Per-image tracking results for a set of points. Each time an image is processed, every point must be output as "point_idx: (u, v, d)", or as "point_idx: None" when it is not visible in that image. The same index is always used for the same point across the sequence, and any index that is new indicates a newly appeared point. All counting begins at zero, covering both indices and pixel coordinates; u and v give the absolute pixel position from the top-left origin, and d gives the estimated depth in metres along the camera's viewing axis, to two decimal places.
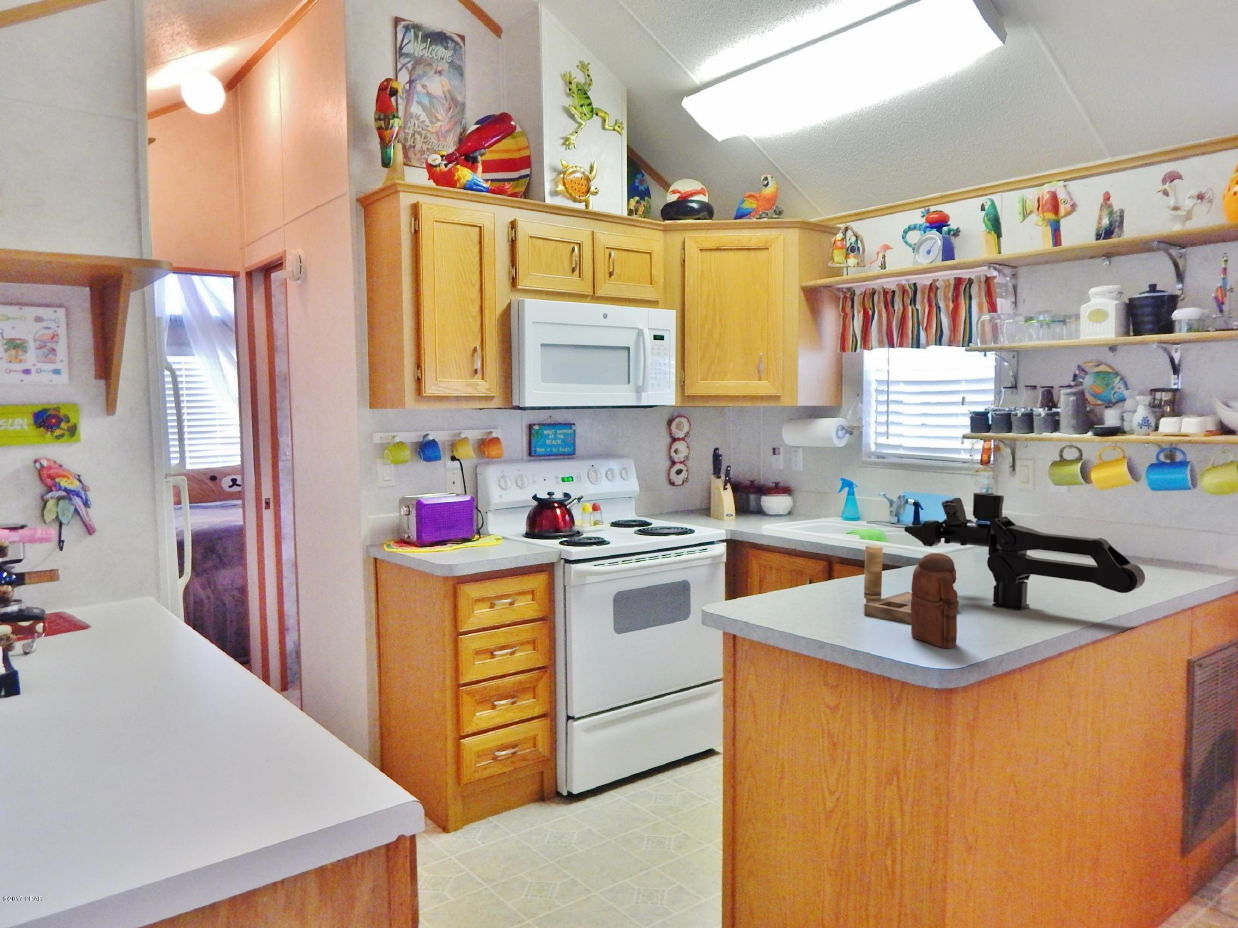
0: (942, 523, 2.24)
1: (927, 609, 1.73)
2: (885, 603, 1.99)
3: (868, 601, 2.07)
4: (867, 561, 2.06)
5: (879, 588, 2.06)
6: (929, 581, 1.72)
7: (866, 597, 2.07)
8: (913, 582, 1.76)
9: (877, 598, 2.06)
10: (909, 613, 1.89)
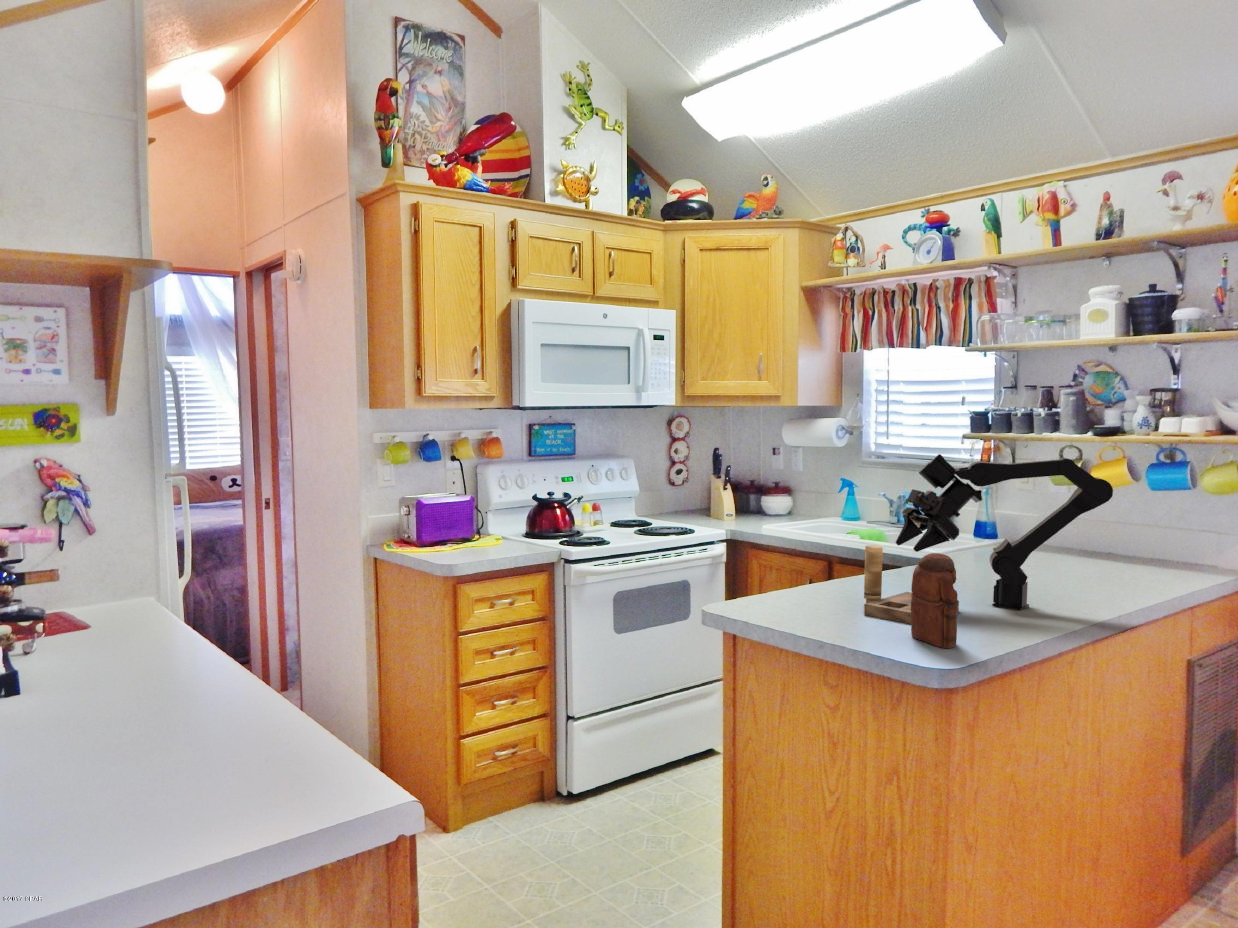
0: (908, 525, 2.14)
1: (927, 609, 1.73)
2: (885, 603, 1.99)
3: (868, 601, 2.07)
4: (867, 561, 2.06)
5: (879, 588, 2.06)
6: (929, 581, 1.72)
7: (866, 597, 2.07)
8: (913, 582, 1.76)
9: (877, 598, 2.06)
10: (909, 613, 1.89)
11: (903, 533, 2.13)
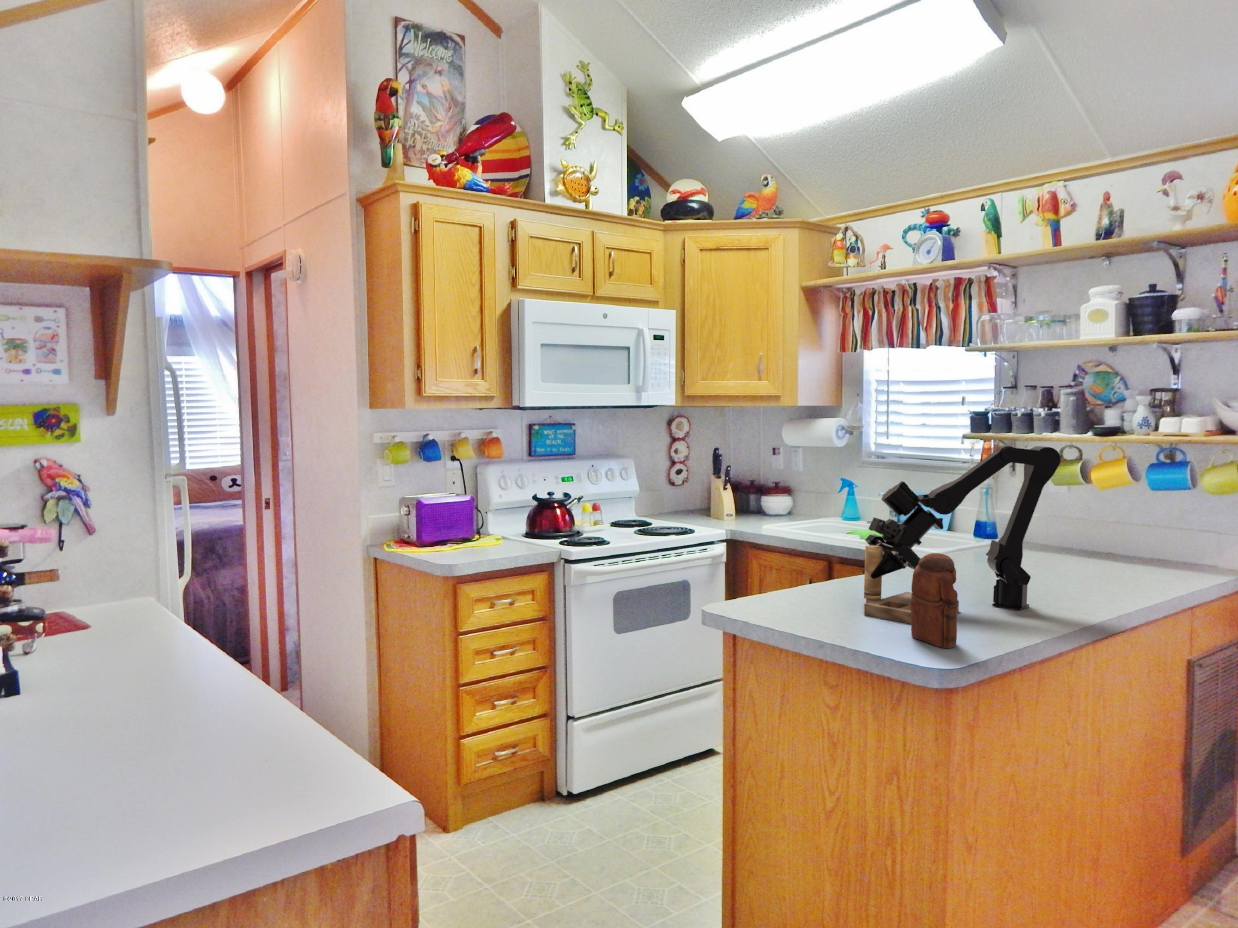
0: None
1: (927, 609, 1.73)
2: (885, 603, 1.99)
3: (868, 601, 2.07)
4: (867, 561, 2.06)
5: (879, 588, 2.06)
6: (930, 581, 1.72)
7: (866, 597, 2.07)
8: (913, 582, 1.76)
9: (877, 598, 2.06)
10: (909, 613, 1.89)
11: None
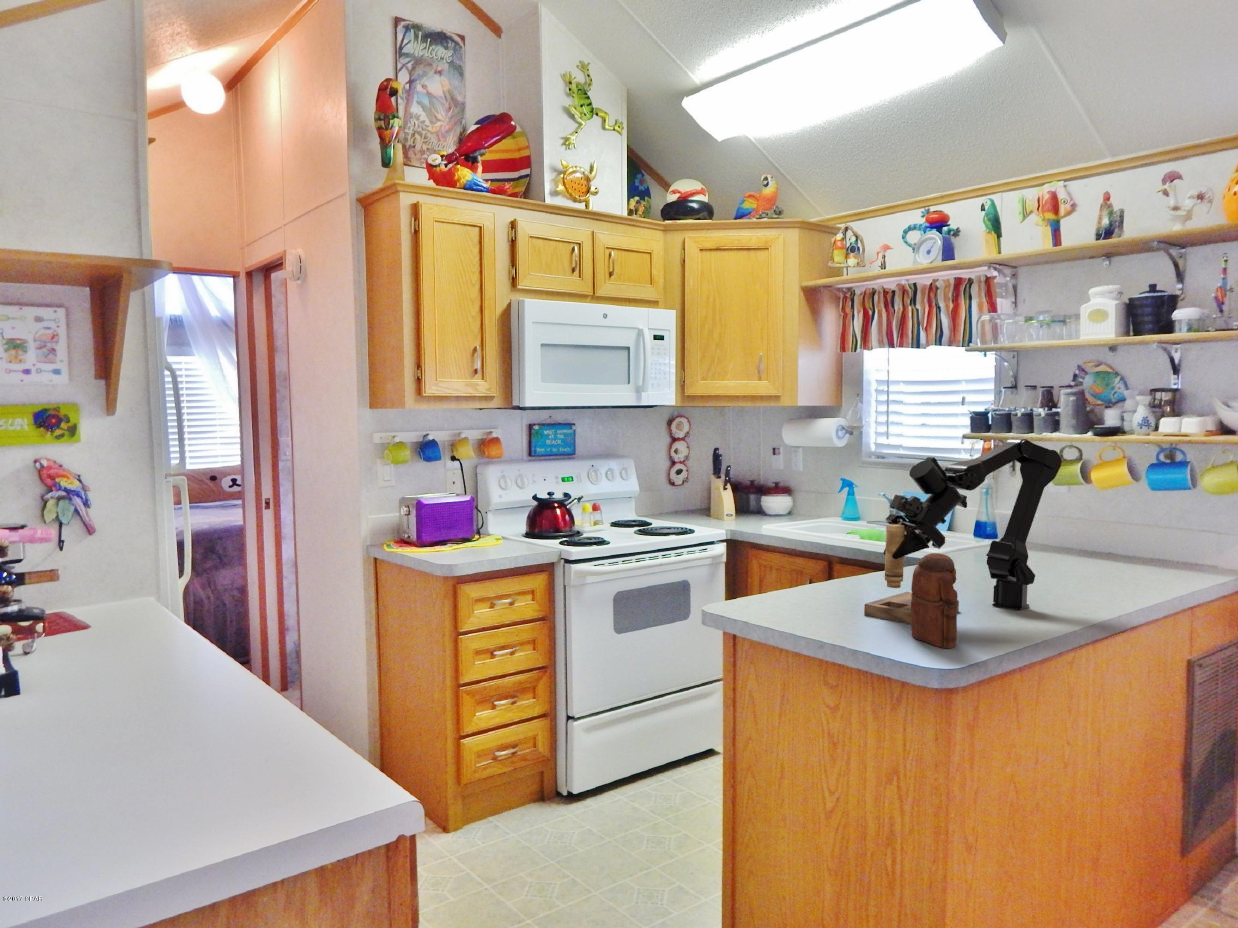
0: None
1: (927, 609, 1.73)
2: (885, 603, 1.99)
3: (889, 583, 1.96)
4: (888, 541, 1.95)
5: (901, 569, 1.95)
6: (929, 581, 1.72)
7: (887, 579, 1.96)
8: (913, 582, 1.76)
9: (899, 580, 1.95)
10: (909, 613, 1.89)
11: None
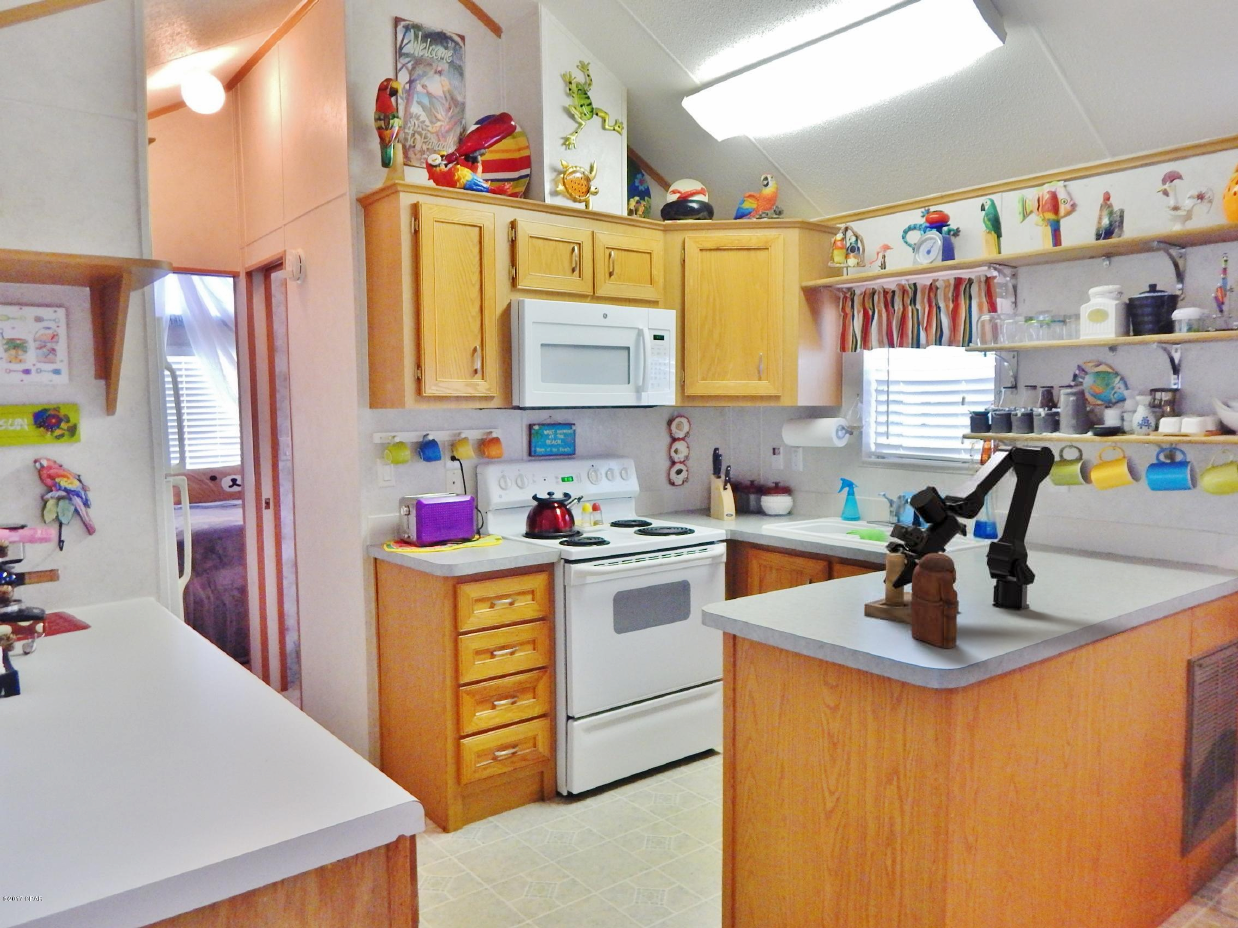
0: None
1: (927, 608, 1.73)
2: None
3: None
4: (888, 570, 1.95)
5: (902, 598, 1.95)
6: (930, 581, 1.72)
7: None
8: (913, 582, 1.76)
9: None
10: (909, 613, 1.89)
11: None
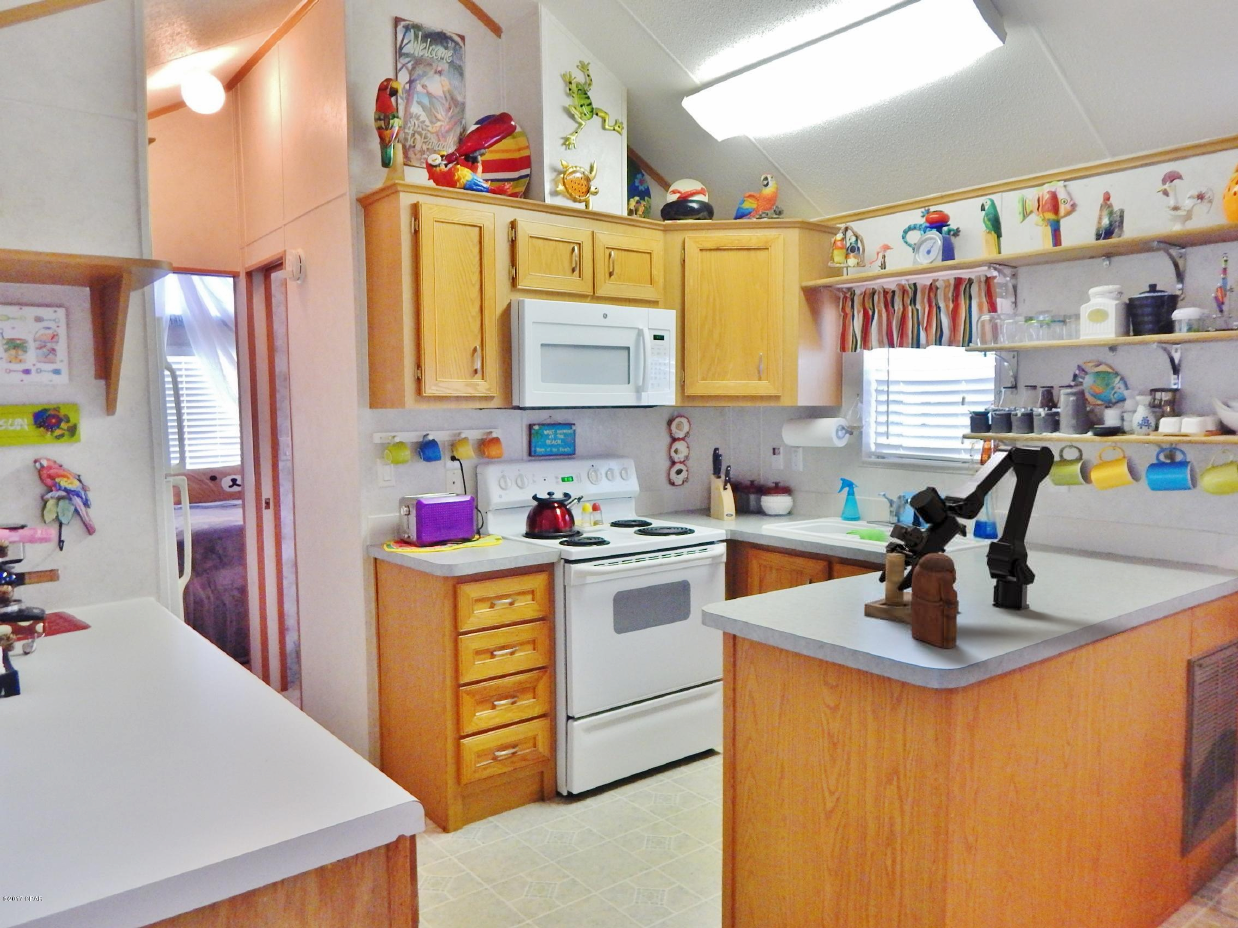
0: None
1: (927, 609, 1.73)
2: None
3: None
4: (888, 570, 1.95)
5: (902, 598, 1.95)
6: (929, 581, 1.72)
7: None
8: (913, 582, 1.76)
9: None
10: (909, 613, 1.89)
11: None
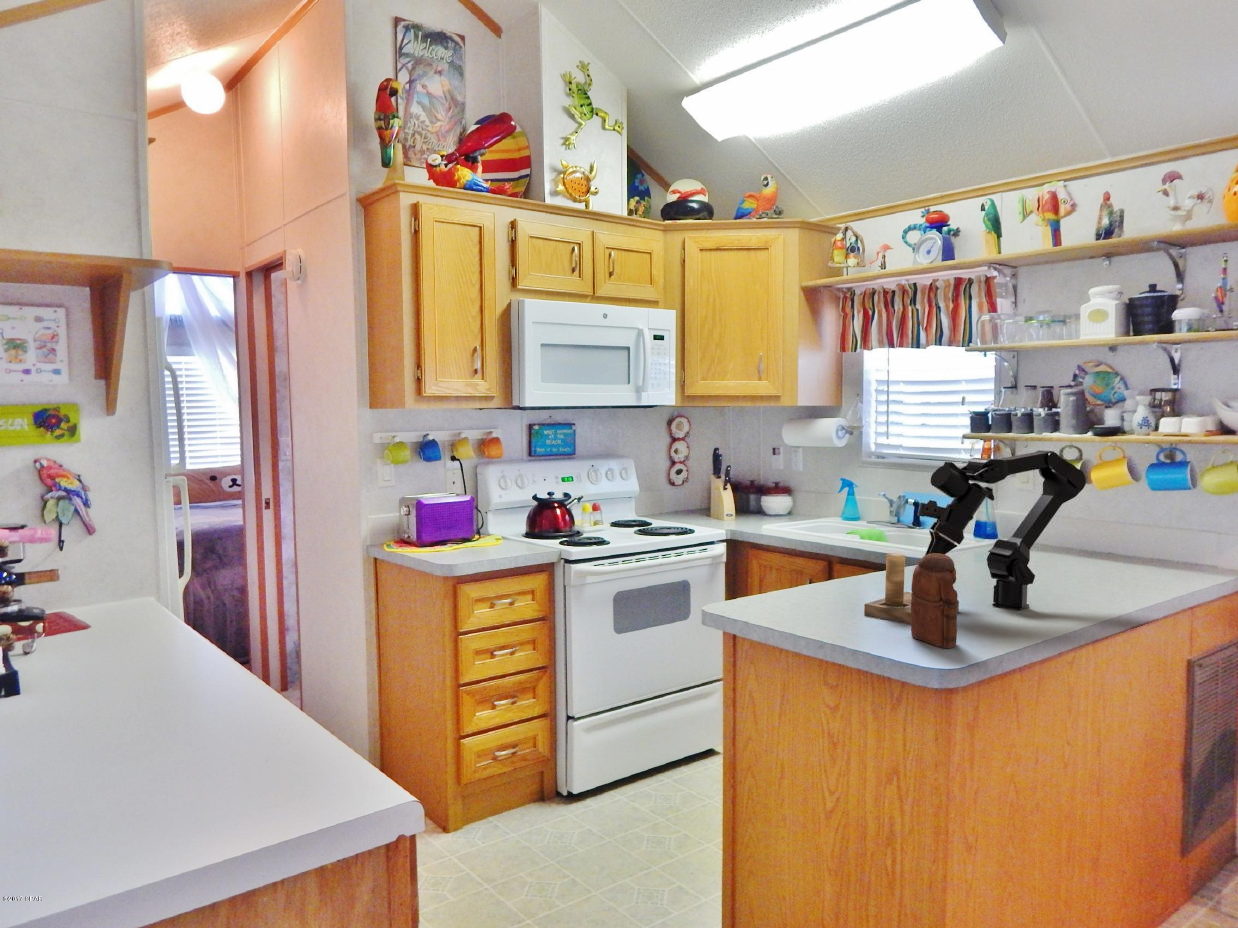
0: (933, 539, 2.08)
1: (927, 608, 1.73)
2: None
3: None
4: (888, 570, 1.95)
5: (902, 598, 1.95)
6: (929, 581, 1.72)
7: None
8: (913, 582, 1.76)
9: None
10: (909, 613, 1.89)
11: (929, 549, 2.08)
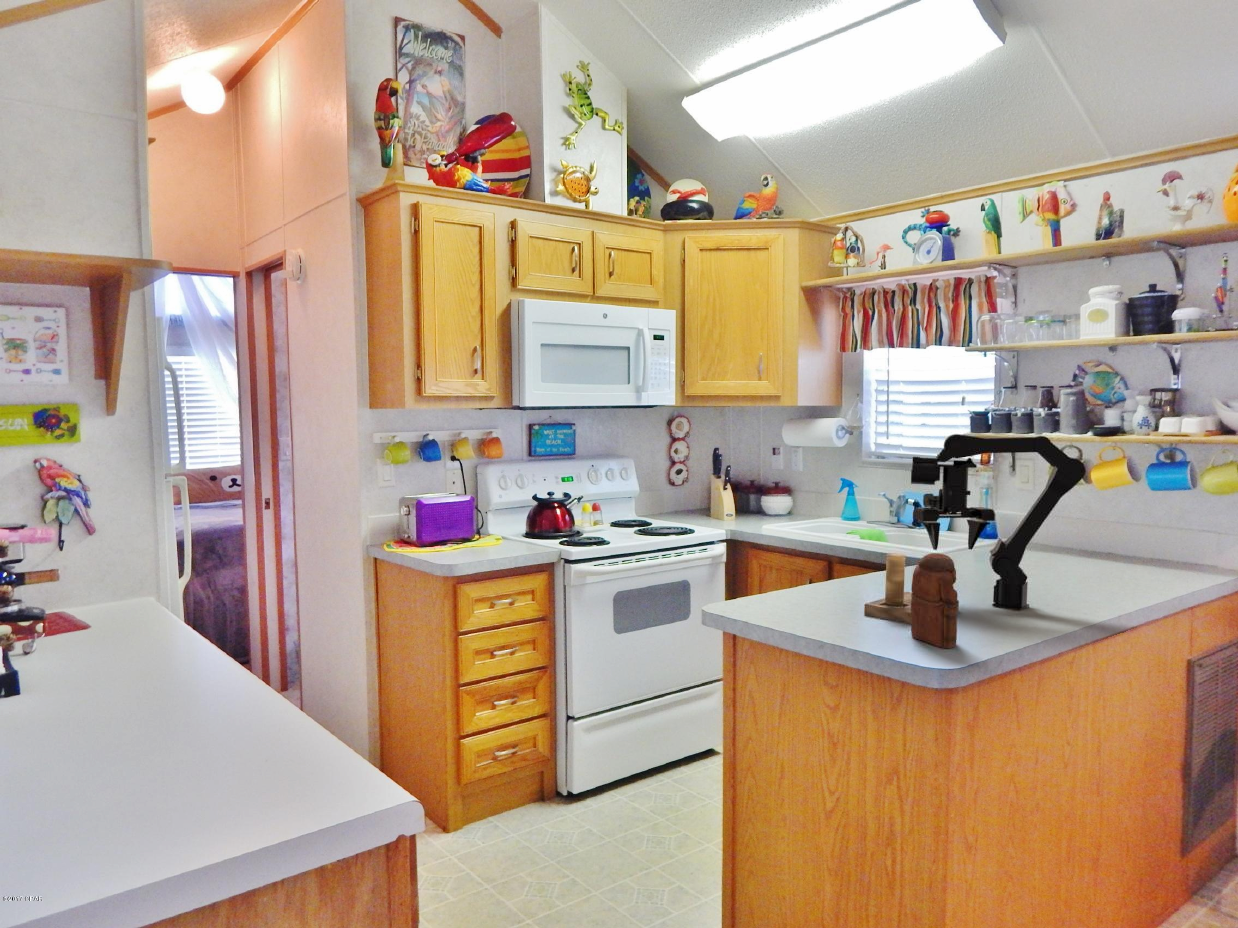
0: (969, 526, 2.12)
1: (927, 609, 1.73)
2: None
3: None
4: (889, 570, 1.95)
5: (902, 598, 1.95)
6: (929, 581, 1.72)
7: None
8: (913, 582, 1.76)
9: None
10: (909, 613, 1.89)
11: (969, 536, 2.12)
